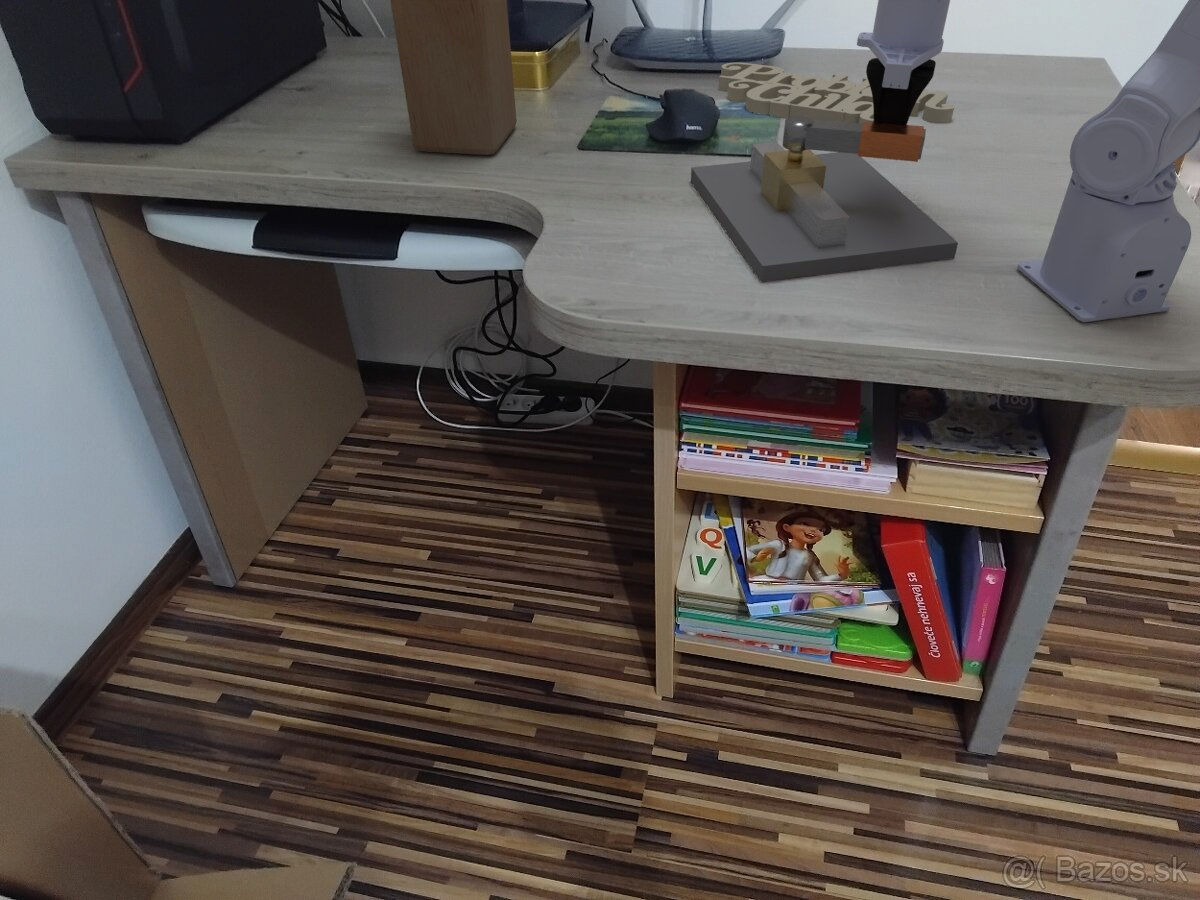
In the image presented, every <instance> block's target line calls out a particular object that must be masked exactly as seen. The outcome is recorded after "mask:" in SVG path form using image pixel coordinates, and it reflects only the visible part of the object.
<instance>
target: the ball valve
mask: <svg viewBox="0 0 1200 900" xmlns="http://www.w3.org/2000/svg"><path fill="white" fill-rule="evenodd" d="M816 155H817V154H815V153H814V152H813V150H808V149H807V150H803V151H794V150H789V149H787V150H785V149H784V147H783V146H781V145H780V143H778V142H777V141H773V142H763V143H753V144H751V156H750V161H751V165H750V170H751V171H752V172H753V173H754V174H755V176H756V177H757V178H758V179H759V180H760V182H761V183H762V184H761V194H762V195H763V196H764V198H765V199H766V200H767V201H768V202H769V204H770V205H771V206H772V207H773V208H774V210H775V211H776V212H779V211H786V212H787V213H788V214H789V216H790V217H791V218H792V219H793V220H794V221H795V223H796V224H797V225H798V226H799V227H800V229H801V230H802V231H803V232H804V233H805V234H806V236H807V237H808V238H809V239H810V240H811V241H812V243H813V244H814V245H815V246H816V247H817V248H822V247H830V246H839V245H845V242H846V236H847V230H848V224H849V218H850V217H849V216H848V215H847V214H846V213H845V212H844V211H843V210H842V209H841V208H840V207H839V206H838V204H837V203H836V202H835V201H834V200H833V199H832V198H831V197H830V196H829V195H828V194H827V193H826V192H825V191H824V190H823V186H824V179H825V172H826V165H825V164H824V163H823V162H822V161H821V160H820V159H819V158H818V157H817V156H816Z"/></svg>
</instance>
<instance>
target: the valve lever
mask: <svg viewBox="0 0 1200 900" xmlns="http://www.w3.org/2000/svg"><path fill="white" fill-rule="evenodd" d="M926 130H927V129H926V128H925V126H924V125H913V124H910V125H909V124H907V125H901V124H888V123H876V122H864V123H863V124H858V123H845V122H833V121H821V120H812V119H810V118H807V117H790V118H785V121H784V126H783V137H782V148H783V149H784V148H785V149H787V150H788V149H789V150H794V151H803V150H807V149H808V150H811V151H823V152H830V153H836V152H842V153H853V154H858V156H859V157H862V158H871V159H872V158H873V159H883V160H895V161H904V162H916V163H918V160H921V158H922V154H923V150H924V145H925V140H926Z"/></svg>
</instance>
